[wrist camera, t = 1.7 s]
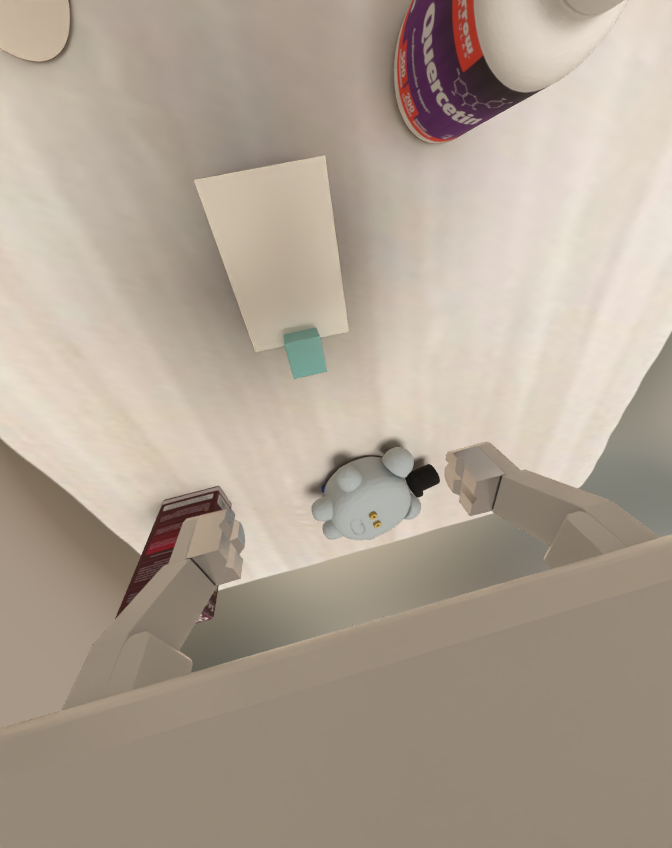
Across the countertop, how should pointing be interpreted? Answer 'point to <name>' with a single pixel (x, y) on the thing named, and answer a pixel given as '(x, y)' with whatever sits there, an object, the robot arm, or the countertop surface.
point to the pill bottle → (488, 56)
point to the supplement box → (173, 540)
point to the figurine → (372, 495)
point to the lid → (280, 255)
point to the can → (34, 28)
